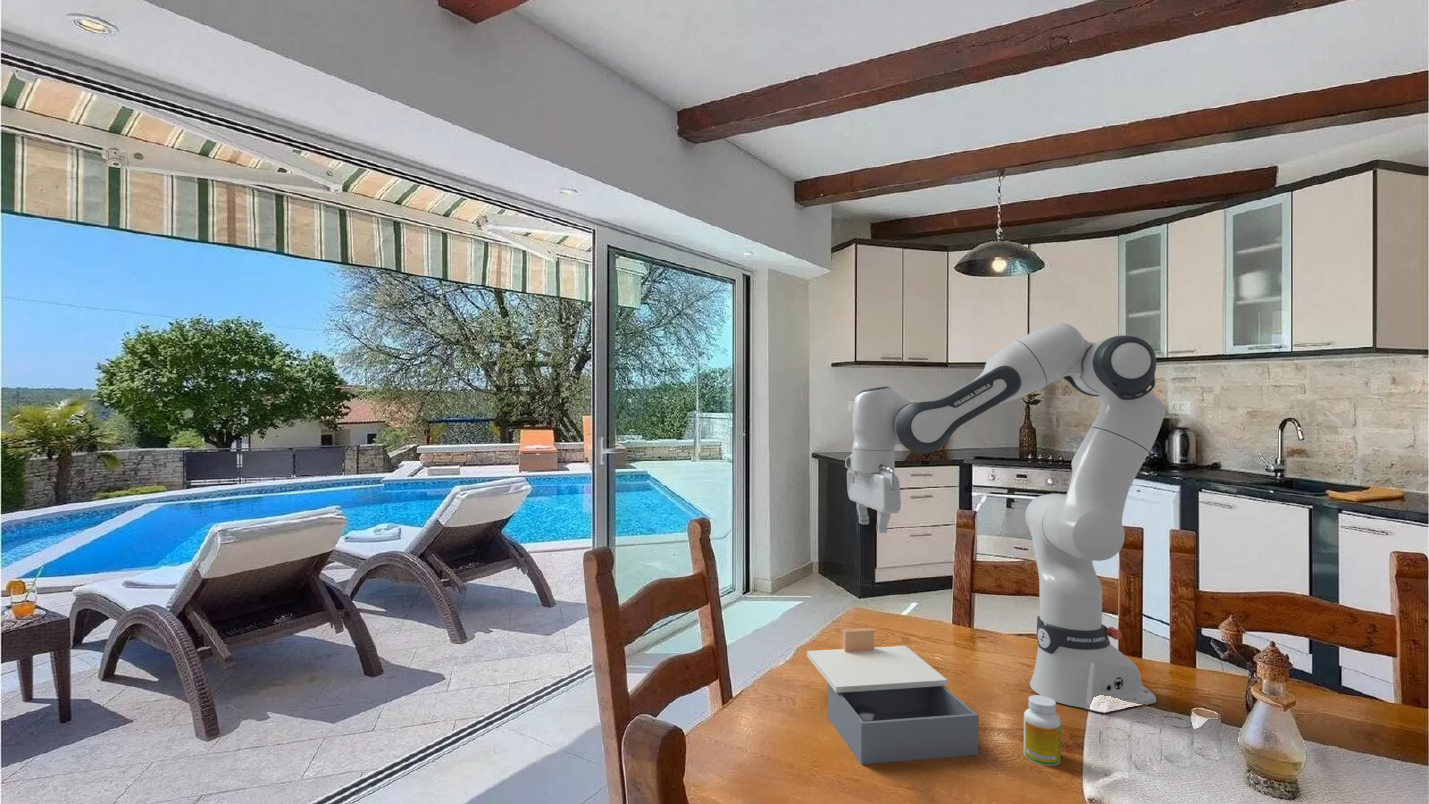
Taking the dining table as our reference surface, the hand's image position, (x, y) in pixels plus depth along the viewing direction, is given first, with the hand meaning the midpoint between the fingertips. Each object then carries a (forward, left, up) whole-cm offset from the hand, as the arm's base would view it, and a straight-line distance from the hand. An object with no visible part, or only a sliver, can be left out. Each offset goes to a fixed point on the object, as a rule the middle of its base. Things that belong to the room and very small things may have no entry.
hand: (872, 528), depth 140 cm
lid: (+6, +15, -24) cm, 29 cm away
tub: (+6, +26, -31) cm, 41 cm away
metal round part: (+11, +23, -30) cm, 40 cm away
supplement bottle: (-14, +36, -31) cm, 50 cm away
